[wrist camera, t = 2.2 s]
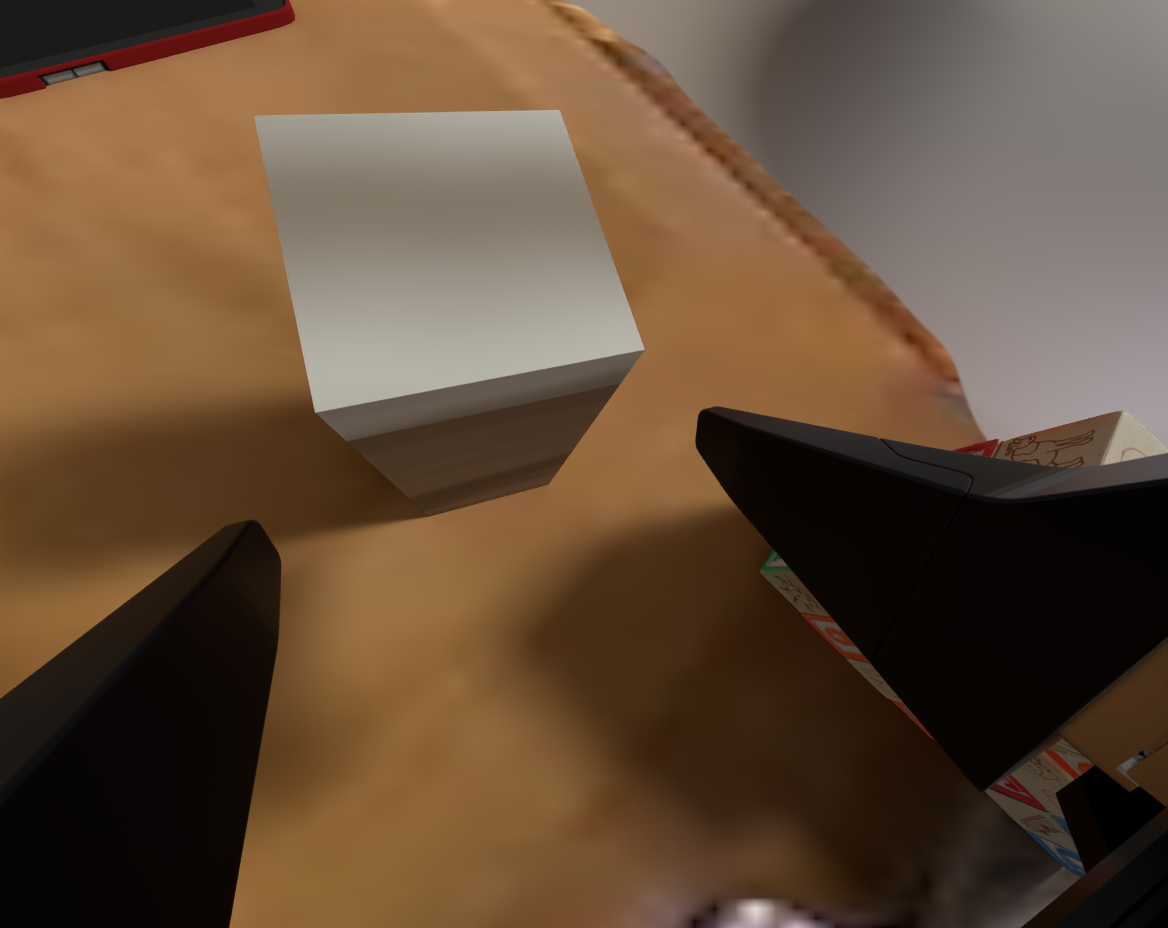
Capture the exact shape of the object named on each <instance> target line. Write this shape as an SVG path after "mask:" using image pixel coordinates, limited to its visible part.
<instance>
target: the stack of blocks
mask: <svg viewBox="0 0 1168 928" xmlns="http://www.w3.org/2000/svg"><path fill="white" fill-rule="evenodd" d="M952 451H955V452H961V453H967V454H974V455H980V456H987V457H993V458H1000V459H1006V460H1012V461H1019V462H1025V463H1032V464H1038V465H1046V466H1054V467H1090V466H1100V465H1106V464H1112V463H1117V462H1122V461H1128V460H1133V459H1138V458H1143V457H1148V456H1154V455H1159V454H1164V453H1168V449H1166V448H1165V447H1164V446H1163V445H1162V444H1161V443H1160V442H1159V441H1157V439H1156V438H1155V437H1154V436H1153V435H1151V433H1149V431H1148V430H1146V429H1145V428H1144V427H1143V426H1142V425H1141V424H1140V423H1139V422H1138V421H1137V420H1136V419H1135V418H1134V417H1133V416H1131V415H1130V414H1128V413H1126V412H1125V411H1117V412H1113V413H1108V414H1105V415H1100V416H1096V417H1093V418H1089V419H1085V420H1081V421H1077V422H1073V423H1070V424H1066V425H1062V426H1058V427H1054V428H1050V429H1047V430H1043V431H1039V432H1035V433H1031V434H1028V435H1024V436H1020V437H1017V438H1013V439H1010V440H1007V441H1004V442H1003V441H1001V440H1000V439H995V440H990V441H987V442H983V443H979V444H974V445H971V446H968V447H964V448H959V449H956V450H952ZM759 571H760V573H761V574H762V575H763V576H764V577H765V578H766V579H767V580H768V581H769V582H770V583H771V584H772V585H773V586H774V587H775V588H776V589H777V590H778V591H779V592H780V593H781V594H782V595H783V596H784V597H785V598H786V599H787V600H788V601H789V602H790V603H791V604H792V605H793V606H794V607H796V608H797V609H798V610H799V611H800V612H801V615H802V616H803V617H804V618H805V619H806V620H807V621H808V622H809V623H810V624H811V625H812V626H813V627H814V628H815V629H816V630H817V631H818V632H819V633H820V634H821V635H822V636H823V637H824V638H825V639H826V640H827V641H828V642H829V643H830V644H831V645H832V646H833V647H834V648H835V649H836V650H837V651H838V652H839V653H840V654H842V655H843V656H844V657H845V658H846V659H847V660H848V661H849V662H850V663H851V664H852V665H853V666H854V668H855V669H856V670H857V671H858V672H859V673H861V674H862V675H863V676H864V677H865V678H866V679H867V680H868V681H869V682H870V683H871V684H872V685H873V686H874V687H875V688H876V689H877V690H878V691H879V692H880V693H881V694H882V695H884V696H885V697H886V698H888V699H890V700H892V701H893V702H894V703H895V705H896V706H898V707H899V708H900V709H901V710H902V711H903V712H904V713H906V714H907V715H908V717H909V718H910V719H911V720H912V721H913V722H914V723H915V724H917V725H918V726H919V727H920V728H921V729H922V730H923V731H924V732H925V733H926V734H927V735H928V736H929V737H930V738H932V739H934V738H933V737H932V736H931V735H930V734H929V732H928V731H927V730H926V729H925V728H924V727H923V725H922V724H921V723H920V722H919V721H918V720H917V718H916V717H915V716H914V715H913V714H912V712H911V711H910V710H909V709H908V708H907V707H906V705H905V704H904V703H903V702H902V701H901V699H900V698H899V697H898V696H897V695H896V694H895V692H894V691H893V690H892V689H891V688H890V687H889V685H888V684H887V683H886V682H885V681H884V679H883V678H882V677H881V676H880V675H879V674H878V672H877V671H876V670H875V669H874V668H873V666H872V665H871V662H869V661H868V660H867V659H866V658H865V657H864V655H863V654H862V653H861V652H860V651H859V650H858V648H857V647H856V646H855V645H854V644H853V643H852V641H851V640H850V639H849V638H848V637H847V635H846V634H845V633H844V632H843V631H842V630H841V628H840V627H839V626H838V625H837V624H836V623H835V621H834V620H833V619H832V618H831V617H830V615H829V614H828V613H827V612H826V611H825V610H824V608H823V607H822V606H821V605H820V604H819V602H818V601H817V600H816V599H815V598H814V597H813V595H812V594H811V593H810V592H809V591H808V590H807V588H806V587H805V586H804V585H803V584H802V582H801V581H800V580H799V579H798V578H797V577H796V575H795V574H794V573H793V572H792V571H791V570H790V568H789V567H788V566H787V565H786V564H785V562H784V561H783V560H782V559H781V558H780V557H779V555H778V554H777V553H776V552H775V551H774V550H773V551H772V553H771V554H770V556H769V557H768V558H767V560H766V561H765V563H764V564H763V565H762V567H761V568H760V570H759ZM1092 766H1094V764H1093V763H1092V762H1090V761H1089V760H1088V759H1087V758H1085V757H1084V756H1083V755H1082V754H1081V753H1079V752H1078V751H1077V750H1076V749H1074V748H1073V747H1072V746H1071V745H1069V744H1068V743H1067V742H1066V741H1065V740H1063V739H1062V740H1060V741H1059V742H1057V743H1056V744H1054V745H1053V746H1051V747H1050V748H1049V749H1047V750H1046V751H1044V752H1043V753H1041V754H1040V755H1038V756H1037V757H1035V758H1034V759H1032V760H1031V761H1029V762H1028V763H1026V764H1025V765H1023V766H1022V767H1020V768H1019V769H1017V770H1016V771H1014V772H1013V773H1011V774H1010V775H1008V776H1007V777H1005V778H1004V779H1002V780H1001V781H999V782H998V783H996V784H995V785H993V786H992V787H990V788H989V789H987V790H986V791H985V792H986V793H987V794H988V795H989V796H990V797H991V798H992V799H993V800H994V801H995V802H996V803H997V804H998V805H999V806H1000V807H1001V808H1002V809H1003V810H1004V811H1005V812H1006V813H1007V814H1008V815H1009V816H1010V817H1011V818H1012V819H1013V820H1014V821H1015V822H1017V823H1018V824H1019V825H1020V826H1021V827H1023V828H1024V830H1025V831H1026V832H1027V833H1028V834H1029V835H1030V836H1031V837H1033V838H1034V839H1035V840H1036V841H1037V842H1038V843H1039V844H1040V845H1041V846H1042V847H1043V848H1044V849H1045V850H1046V851H1047V852H1048V853H1049V854H1050V855H1051V856H1052V857H1054V858H1055V859H1056V860H1057V861H1058V862H1059V863H1060V864H1061V865H1062V866H1063V867H1064V868H1066V869H1068V870H1069V871H1071V872H1073V873H1075V874H1077V875H1079V876H1081V877H1083V876H1084V875H1085V874H1086V873H1085V870H1084V867H1083V865H1082V862H1081V860H1080V857H1079V854H1078V852H1077V849H1076V846H1075V844H1074V841H1073V839H1072V836H1071V833H1070V831H1069V828H1068V826H1067V823H1066V820H1065V818H1064V815H1063V812H1062V810H1061V807H1060V805H1059V802H1058V799H1057V797H1056V794H1055V793H1056V792H1058V791H1059V790H1060V789H1062V788H1063V787H1065V786H1066V785H1067V784H1069V783H1070V782H1072V781H1073V780H1074V779H1076V778H1077V777H1079V776H1080V775H1081V774H1083V773H1084V772H1085V771H1087V770H1088V769H1090V768H1091V767H1092Z"/></svg>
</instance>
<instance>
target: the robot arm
mask: <svg viewBox="0 0 1168 928" xmlns="http://www.w3.org/2000/svg"><path fill="white" fill-rule="evenodd" d="M695 442H696V448H697V450H698V452H699V453H700V455H701V456H702V458H703V459H704V461H705V462H706V464H707V465H708V467H709V468H710V470H711V471H712V473H713V474H714V476H715V477H716V479H717V480H718V481H719V483H720V484H721V486H722V487H723V489H724V490H725V492H726V493H727V494H728V496H729V497H730V499H731V500H732V501H733V502H734V503H735V505H736V506H737V507H738V508H739V509H740V511H741V512H742V513H743V514H744V515H745V517H746V518H747V519H748V520H749V521H750V522H751V524H752V525H753V526H754V527H755V528H756V529H757V531H758V532H759V533H760V534H761V535H762V537H763V538H764V539H765V540H766V541H767V542H768V544H769V545H770V546H771V547H772V548H773V550H774V551H775V552H776V553H777V554H778V555H779V557H780V558H781V559H782V560H783V561H784V562H785V564H786V565H787V566H788V567H789V568H790V570H791V571H792V572H793V573H794V574H795V575H796V577H797V578H798V579H799V580H800V581H801V582H802V584H803V585H804V586H805V587H806V588H807V590H808V591H809V592H810V593H811V594H812V595H813V597H814V598H815V599H816V600H817V601H818V602H819V604H820V605H821V606H822V607H823V608H824V610H825V611H826V612H827V613H828V614H829V615H830V617H831V618H832V619H833V620H834V621H835V623H836V624H837V625H838V626H839V627H840V628H841V630H842V631H843V632H844V633H845V634H846V635H847V637H848V638H849V639H850V640H851V641H852V643H853V644H854V645H855V646H856V647H857V648H858V650H859V651H860V652H861V653H862V654H863V655H864V657H865V658H866V659H867V660H868V661H869V662H871V665H872V666H873V668H874V669H875V670H876V671H877V672H878V674H879V675H880V676H881V677H882V678H883V679H884V681H885V682H886V683H887V684H888V685H889V687H890V688H891V689H892V690H893V691H894V692H895V694H896V695H897V696H898V697H899V698H900V699H901V701H902V702H903V703H904V704H905V705H906V707H907V708H908V709H909V710H910V711H911V712H912V714H913V715H914V716H915V717H916V718H917V720H918V721H919V722H920V723H921V724H922V725H923V727H924V728H925V729H926V730H927V731H928V732H929V734H930V735H931V736H932V737H933V738H934V740H935V741H936V742H937V743H938V744H939V745H940V747H941V748H942V749H943V750H944V751H945V753H946V754H947V755H948V756H949V757H950V758H951V760H952V761H953V762H954V763H955V764H956V766H957V767H958V768H959V769H960V770H961V771H962V773H963V774H964V775H965V776H966V777H967V778H968V779H969V781H970V782H971V783H972V784H973V785H974V786H975V787H976V788H977V789H978V790H979V791H980V792H984V791H986V790H987V789H989V788H990V787H992V786H993V785H995V784H996V783H998V782H999V781H1001V780H1002V779H1004V778H1005V777H1007V776H1008V775H1010V774H1011V773H1013V772H1014V771H1016V770H1017V769H1019V768H1020V767H1022V766H1023V765H1025V764H1026V763H1028V762H1029V761H1031V760H1032V759H1034V758H1035V757H1037V756H1038V755H1040V754H1041V753H1043V752H1044V751H1046V750H1047V749H1049V748H1050V747H1051V746H1053V745H1054V744H1056V743H1057V742H1059V741H1060V740H1062V739H1063V740H1065V741H1066V742H1067V743H1068V744H1069V745H1071V746H1072V747H1073V748H1074V749H1076V750H1077V751H1078V752H1079V753H1081V754H1082V755H1083V756H1084V757H1085V758H1087V759H1088V760H1089V761H1090V762H1092V763H1093V764H1094V766H1092V767H1091V768H1090V769H1088V770H1087V771H1085V772H1084V773H1083V774H1081V775H1080V776H1079V777H1077V778H1076V779H1074V780H1073V781H1072V782H1070V783H1069V784H1067V785H1066V786H1065V787H1063V788H1062V789H1060V790H1059V791H1058V792H1056V793H1055V794H1056V797H1057V799H1058V802H1059V805H1060V807H1061V810H1062V812H1063V815H1064V818H1065V820H1066V823H1067V826H1068V828H1069V831H1070V833H1071V836H1072V839H1073V841H1074V844H1075V846H1076V849H1077V852H1078V854H1079V857H1080V860H1081V862H1082V865H1083V867H1084V870H1085V873H1086V874H1085V875H1084V876H1083V877H1081V878H1080V879H1079V880H1078V881H1077V882H1075V883H1074V884H1073V885H1072V886H1071V887H1069V888H1068V889H1067V890H1066V891H1065V892H1063V893H1062V894H1061V895H1060V896H1059V897H1057V898H1056V899H1055V900H1054V901H1053V902H1051V903H1050V904H1049V905H1048V906H1046V907H1045V908H1044V909H1043V910H1042V911H1040V912H1039V913H1038V914H1037V915H1036V916H1034V917H1033V918H1032V919H1031V920H1030V921H1028V922H1027V923H1026V924H1025V925H1024V926H1022V927H1021V928H1168V453H1164V454H1159V455H1154V456H1148V457H1143V458H1138V459H1133V460H1128V461H1122V462H1117V463H1112V464H1106V465H1100V466H1090V467H1054V466H1046V465H1038V464H1032V463H1025V462H1019V461H1012V460H1006V459H1000V458H993V457H987V456H980V455H974V454H967V453H961V452H955V451H949V450H943V449H937V448H931V447H926V446H920V445H915V444H909V443H904V442H899V441H893V440H888V439H883V438H881V439H878V438H877V437H873V436H867V435H862V434H857V433H852V432H847V431H842V430H837V429H832V428H826V427H821V426H816V425H811V424H806V423H801V422H796V421H791V420H785V419H780V418H775V417H770V416H765V415H760V414H755V413H750V412H744V411H739V410H734V409H729V408H724V407H719V406H716V407H711V408H707V409H703V410H702V411H700V413H699V415H698V421H697V430H696V440H695ZM280 592H281V559H280V556H279V553H278V551H277V550H276V548H275V547H274V545H273V543H272V542H271V540H270V539H269V537H268V536H267V534H266V532H265V531H264V529H263V528H262V526H261V525H260V524H259V523H258V522H257V521H255V520H247V521H242V522H238V523H234V524H230V525H227V526H225V527H223V528H222V529H221V530H220V531H218V532H217V533H216V534H214V535H213V536H212V537H210V538H209V539H208V540H206V541H205V542H204V543H203V544H201V545H200V546H199V547H197V548H196V549H195V550H193V551H192V552H191V553H190V554H188V555H187V556H186V557H184V558H183V559H182V560H180V561H179V562H178V563H176V564H175V565H174V566H173V567H171V568H170V569H169V570H167V571H166V572H165V573H163V574H162V575H161V576H160V577H158V578H157V579H156V580H154V581H153V582H152V583H150V584H149V585H148V586H146V587H145V588H144V589H143V590H141V591H140V592H139V593H137V594H136V595H135V596H133V597H132V598H131V599H130V600H128V601H127V602H126V603H124V604H123V605H122V606H120V607H119V608H118V609H116V610H115V611H114V612H113V613H111V614H110V615H109V616H107V617H106V618H105V619H103V620H102V621H101V622H100V623H98V624H97V625H96V626H94V627H93V628H92V629H90V630H89V631H88V632H86V633H85V634H84V635H83V636H81V637H80V638H79V639H77V640H76V641H75V642H73V643H72V644H71V645H70V646H68V647H67V648H66V649H64V650H63V651H62V652H60V653H59V654H58V655H56V656H55V657H54V658H53V659H51V660H50V661H49V662H47V663H46V664H45V665H43V666H42V667H41V668H40V669H38V670H37V671H36V672H34V673H33V674H32V675H30V676H29V677H28V678H26V679H25V680H24V681H23V682H21V683H20V684H19V685H17V686H16V687H15V688H13V689H12V690H11V691H10V692H8V693H7V694H6V695H4V696H3V697H2V698H0V928H229V926H230V920H231V915H232V909H233V903H234V897H235V891H236V886H237V880H238V874H239V868H240V862H241V857H242V851H243V845H244V839H245V833H246V828H247V822H248V816H249V810H250V804H251V799H252V793H253V787H254V781H255V775H256V770H257V764H258V758H259V752H260V746H261V741H262V735H263V729H264V723H265V717H266V712H267V706H268V700H269V694H270V688H271V683H272V677H273V671H274V665H275V660H276V654H277V647H278V639H279V622H280Z"/></svg>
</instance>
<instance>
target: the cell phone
mask: <svg viewBox="0 0 1168 928" xmlns="http://www.w3.org/2000/svg"><path fill="white" fill-rule="evenodd" d="M294 20H295V14H294V11H293V9H292V6H291V4H290V2H289V0H0V99H1V98H7V97H12V96H17V95H21V94H25V93H29V92H33V91H37V90H41V89H45V88H46V86H47V85H51V84H55V83H59V82H63V81H67V80H71V79H75V78H78V77H82V76H86V75H90V74H94V73H98V72H102V71H106V70H111V71H114V70H118V69H122V68H126V67H130V66H134V65H138V64H142V63H145V62H149V61H153V60H157V59H161V58H165V57H169V56H172V55H176V54H180V53H184V52H188V51H192V50H195V49H199V48H203V47H207V46H211V45H214V44H218V43H222V42H226V41H230V40H234V39H237V38H241V37H245V36H249V35H253V34H257V33H260V32H264V31H268V30H272V29H276V28H279V27H282V26H285V25H287V24H290V23H292V22H293V21H294Z"/></svg>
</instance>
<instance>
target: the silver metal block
mask: <svg viewBox="0 0 1168 928" xmlns="http://www.w3.org/2000/svg"><path fill="white" fill-rule="evenodd" d="M254 117H255V122H256V127H257V132H258V137H259V142H260V147H261V151H262V156H263V161H264V166H265V171H266V176H267V181H268V186H269V190H270V195H271V200H272V205H273V210H274V215H275V220H276V224H277V229H278V234H279V239H280V244H281V249H282V254H283V259H284V263H285V268H286V273H287V278H288V283H289V288H290V293H291V298H292V302H293V307H294V312H295V317H296V322H297V327H298V332H299V337H300V341H301V346H302V351H303V356H304V361H305V366H306V371H307V376H308V380H309V385H310V390H311V395H312V400H313V405H314V410H315V413H316V414H317V415H318V416H319V417H320V418H322V419H323V420H324V421H325V422H326V423H327V424H328V425H329V426H330V427H331V428H332V429H334V430H335V431H336V432H337V433H338V434H339V435H340V436H341V437H342V438H343V439H345V440H346V441H347V442H348V443H349V444H350V445H351V446H352V447H353V448H354V449H355V450H357V451H358V452H359V453H360V454H361V455H362V456H363V457H364V458H365V459H366V460H367V461H369V462H370V463H371V464H372V465H373V466H374V467H375V468H376V469H377V470H378V471H380V472H381V473H382V474H383V475H384V476H385V477H386V478H387V479H388V480H389V481H390V482H392V483H393V484H394V485H395V486H396V487H397V488H398V489H399V490H400V491H401V492H403V493H404V494H405V495H406V496H407V497H408V498H409V499H410V500H411V501H412V502H413V503H415V504H416V505H417V506H418V507H419V508H420V509H421V510H422V511H423V512H424V513H425V514H427V515H428V516H433V515H436V514H440V513H444V512H447V511H451V510H455V509H459V508H462V507H466V506H470V505H474V504H477V503H481V502H485V501H488V500H492V499H496V498H500V497H503V496H507V495H511V494H515V493H518V492H522V491H526V490H529V489H533V488H537V487H541V486H544V485H548V484H549V483H550V482H551V480H552V479H553V477H554V476H555V475H556V473H557V472H558V470H559V469H560V468H561V466H562V465H563V463H564V462H565V461H566V459H567V458H568V456H569V455H570V454H571V452H572V451H573V449H574V448H575V447H576V445H577V444H578V442H579V441H580V440H581V438H582V437H583V435H584V434H585V433H586V431H587V430H588V428H589V427H590V426H591V424H592V423H593V421H594V420H595V419H596V417H597V416H598V414H599V413H600V412H601V410H602V409H603V407H604V406H605V405H606V403H607V402H608V400H609V399H610V398H611V396H612V395H613V393H614V392H615V391H616V389H617V388H618V386H619V385H620V384H621V382H622V381H623V379H624V378H625V377H626V375H627V374H628V372H629V371H630V370H631V368H632V367H633V365H634V364H635V363H636V361H637V360H638V358H639V357H640V356H641V354H642V353H643V351H644V350H645V349H644V346H643V344H642V341H641V338H640V335H639V332H638V330H637V327H636V324H635V321H634V318H633V316H632V313H631V310H630V307H629V304H628V301H627V299H626V296H625V293H624V290H623V287H622V285H621V282H620V279H619V276H618V273H617V270H616V268H615V265H614V262H613V259H612V256H611V254H610V251H609V248H608V245H607V242H606V240H605V237H604V234H603V231H602V228H601V225H600V223H599V220H598V217H597V214H596V211H595V209H594V206H593V203H592V200H591V197H590V194H589V192H588V189H587V186H586V183H585V180H584V178H583V175H582V172H581V169H580V166H579V164H578V161H577V158H576V155H575V152H574V149H573V147H572V144H571V141H570V138H569V135H568V133H567V130H566V127H565V124H564V121H563V119H562V116H561V113H560V110H534V111H481V112H427V113H374V114H321V115H267V116H254Z"/></svg>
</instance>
